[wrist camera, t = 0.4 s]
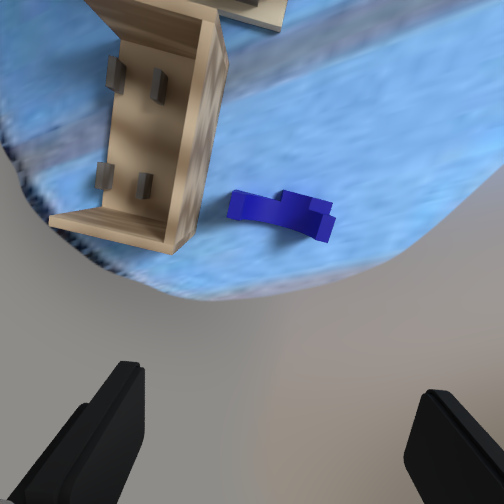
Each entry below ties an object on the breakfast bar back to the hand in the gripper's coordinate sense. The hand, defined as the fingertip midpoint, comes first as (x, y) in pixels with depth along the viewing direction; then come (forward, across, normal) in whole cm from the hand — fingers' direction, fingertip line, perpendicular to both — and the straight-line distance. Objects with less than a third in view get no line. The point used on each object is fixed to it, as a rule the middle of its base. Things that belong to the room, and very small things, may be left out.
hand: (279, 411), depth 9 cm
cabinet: (+30, +13, -10) cm, 34 cm away
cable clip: (+30, -2, -4) cm, 31 cm away
